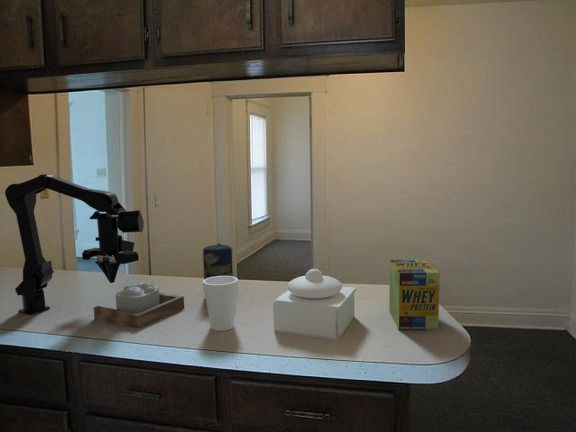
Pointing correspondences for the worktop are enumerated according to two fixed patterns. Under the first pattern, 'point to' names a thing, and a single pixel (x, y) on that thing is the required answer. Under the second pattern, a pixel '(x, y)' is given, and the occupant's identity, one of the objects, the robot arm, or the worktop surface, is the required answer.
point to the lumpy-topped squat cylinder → (137, 297)
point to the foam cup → (221, 301)
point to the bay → (143, 318)
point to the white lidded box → (314, 307)
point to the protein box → (414, 294)
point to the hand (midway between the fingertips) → (112, 282)
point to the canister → (217, 261)
